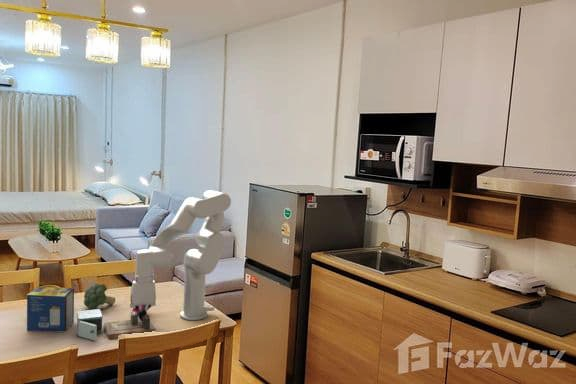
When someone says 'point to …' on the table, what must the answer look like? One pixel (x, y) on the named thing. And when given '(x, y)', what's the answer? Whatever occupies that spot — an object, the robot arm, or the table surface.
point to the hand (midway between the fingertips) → (142, 319)
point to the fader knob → (134, 318)
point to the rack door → (86, 330)
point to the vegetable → (97, 296)
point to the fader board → (128, 327)
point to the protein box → (50, 309)
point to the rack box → (91, 318)
